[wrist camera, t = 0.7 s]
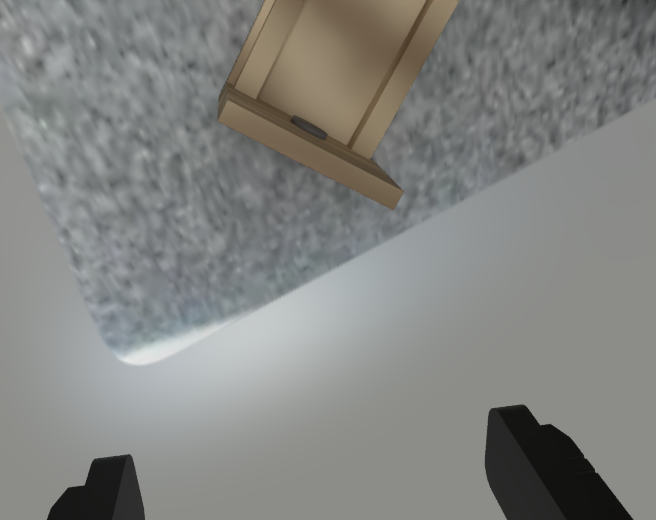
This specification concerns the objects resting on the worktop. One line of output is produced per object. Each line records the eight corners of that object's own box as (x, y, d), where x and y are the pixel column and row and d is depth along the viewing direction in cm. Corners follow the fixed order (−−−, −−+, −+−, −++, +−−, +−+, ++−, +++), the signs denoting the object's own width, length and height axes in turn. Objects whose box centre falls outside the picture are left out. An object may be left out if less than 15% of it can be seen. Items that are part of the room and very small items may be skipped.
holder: (352, -187, 29) (396, -254, 22) (498, -81, 32) (579, -108, 25) (218, 96, 33) (217, 121, 26) (358, 169, 36) (393, 210, 29)
